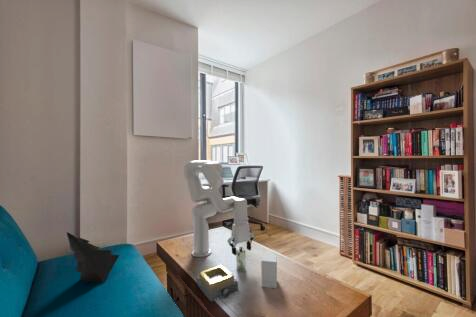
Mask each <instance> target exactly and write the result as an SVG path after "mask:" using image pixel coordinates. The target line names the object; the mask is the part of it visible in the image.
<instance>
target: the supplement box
mask: <svg viewBox="0 0 476 317" xmlns="http://www.w3.org/2000/svg"><path fill="white" fill-rule="evenodd" d="M277 257H278V256H277V254H276V255H273V254H262V256H261V263H260V264H261V267H260V268H261V269H260V270H261V287H262V288H263V287H264V288H269V289H270V288H271V289H273V288H274V289H277V288H278V287H277V286H278V258H277Z"/></svg>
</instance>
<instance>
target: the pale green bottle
mask: <svg viewBox="0 0 476 317" xmlns="http://www.w3.org/2000/svg"><path fill="white" fill-rule="evenodd" d="M235 256H236V271H237V272H244V271H246V266H247V265H246V250H245V249H243V246H239V249H236V255H235Z"/></svg>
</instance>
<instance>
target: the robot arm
mask: <svg viewBox="0 0 476 317" xmlns="http://www.w3.org/2000/svg"><path fill="white" fill-rule="evenodd" d="M223 170H224V169H223V165H222V164H221V163H220V162H218V161H213V160H207V159H206V160H204V159H202V160H201V159H200V160H190V161H188V162H186V163H185V164H184V167H183V175H184V178H185V180H186V183H187V188H188V192H189V197H190V200H191V201H192V202H193V203H196V205H194V206H193V207H192V209H191V216H192V223H193V249H192V251H191V255H192V256H193V257H195V258H204V257H208V256H210V255H211V254H212V249H211V248H210V244H209V243H210V242H209V241H210V240H209V238H210V237H209V234H210V233H209V230H210V229H209V223H208V221H207V218H211V217H213V216H215V215H216V214H217V211H218V212H219V213H223V214H224V213H227V212H230V211H233V224H232V227H231V236H230V237H229V238H228V239H227V243H228V245H229V246H230V247H231V253H232V254H233V255H234V256H236V251H237V245H238V244H241V243H245V242H246V249H247V250H248V251H251V250H252V243H253V241H254V237H255V233H254V232H251V230H250V224H249V220H250V218H249V217H248V201H247V199H246V198H243V197H242V198H241V197H237V196H234V195H233V196H229V197H223V196H222V194H221V193H220V189H219V188H220V187H221V186H223V184H224V179H223V178H222V175H221V174H222V173H223ZM197 174H202V175H203V176H204V178H205V180H206V181H207V183H208V185H209V186H206V185H205V186H203V185H202V183H201V182H202V181H201V179H200V178H199V176H198V175H197ZM202 202H204V203H202ZM197 203H199V204H197Z"/></svg>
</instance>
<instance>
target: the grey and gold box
mask: <svg viewBox="0 0 476 317" xmlns="http://www.w3.org/2000/svg"><path fill="white" fill-rule="evenodd" d="M198 274H199V275H198ZM198 274H197V275H195V276H196V277H195V278H196V280H195V281H196V283H197V284H198V285H197V284H196V283H195V284H196V285H197V287H198V288H199V289H200V290H201V291H202V293H203V294H204V295H205V296H206V298H207V299H208V300H209V302H210V303H212V302H214V301H216V300H215V299H217V298H219V299H221V298H227V297H229V295H231V294H233V293H235V291H236V292H237V291H239V283H238V281H237V280H236V279H235V275H234V274H233V273H232V272H230V271H229V270H228V269H227V268H226V267H225V266H223V265H222V264H220V265H217V266H215V267H211V268H208V269H205V270H202V271H199V273H198ZM232 292H233V293H232ZM230 293H231V294H230ZM222 296H224V297H222ZM220 297H221V298H220ZM217 300H218V299H217Z"/></svg>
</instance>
